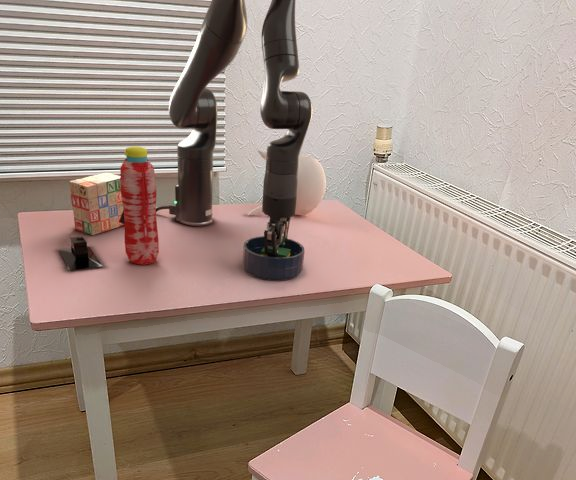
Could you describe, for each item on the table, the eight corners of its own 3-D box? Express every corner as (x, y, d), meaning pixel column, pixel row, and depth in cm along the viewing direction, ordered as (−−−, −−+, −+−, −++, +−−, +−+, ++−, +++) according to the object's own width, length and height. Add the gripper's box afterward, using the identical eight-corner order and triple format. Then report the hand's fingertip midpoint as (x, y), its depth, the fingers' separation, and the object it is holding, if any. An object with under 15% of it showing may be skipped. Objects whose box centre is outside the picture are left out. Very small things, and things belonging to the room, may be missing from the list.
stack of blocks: (135, 211, 162) (132, 166, 156) (151, 216, 160) (149, 171, 153) (74, 229, 147) (68, 180, 140) (92, 235, 144) (86, 185, 138)
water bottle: (117, 250, 138) (107, 139, 124) (150, 247, 141) (144, 139, 127) (130, 270, 129) (121, 153, 115) (165, 266, 133) (160, 152, 119)
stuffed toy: (329, 154, 172) (250, 140, 163) (347, 169, 162) (263, 156, 153) (313, 214, 183) (238, 204, 173) (328, 232, 173) (249, 223, 163)
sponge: (259, 267, 135) (260, 250, 133) (265, 260, 138) (266, 244, 136) (284, 271, 134) (285, 255, 132) (289, 265, 137) (290, 249, 135)
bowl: (234, 274, 132) (235, 251, 129) (253, 253, 144) (254, 232, 141) (293, 285, 130) (296, 262, 127) (308, 263, 141) (310, 242, 138)
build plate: (103, 268, 129) (101, 248, 126) (69, 272, 126) (66, 251, 123) (89, 247, 138) (87, 228, 135) (57, 251, 135) (54, 231, 132)
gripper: (272, 181, 133) (268, 252, 142) (254, 197, 121) (250, 273, 131) (304, 186, 132) (297, 257, 141) (288, 203, 120) (281, 279, 129)
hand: (274, 264), depth 136 cm, fingers closed on sponge, 4 cm apart
